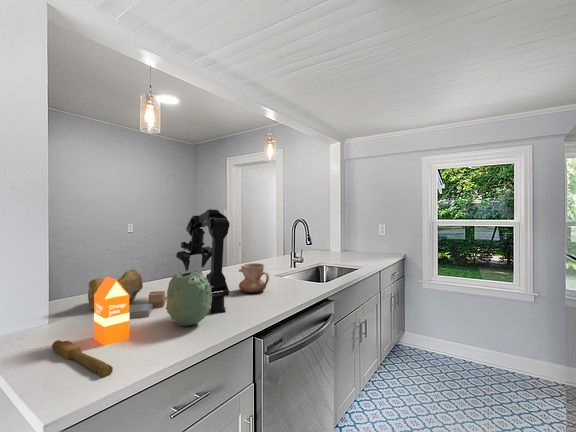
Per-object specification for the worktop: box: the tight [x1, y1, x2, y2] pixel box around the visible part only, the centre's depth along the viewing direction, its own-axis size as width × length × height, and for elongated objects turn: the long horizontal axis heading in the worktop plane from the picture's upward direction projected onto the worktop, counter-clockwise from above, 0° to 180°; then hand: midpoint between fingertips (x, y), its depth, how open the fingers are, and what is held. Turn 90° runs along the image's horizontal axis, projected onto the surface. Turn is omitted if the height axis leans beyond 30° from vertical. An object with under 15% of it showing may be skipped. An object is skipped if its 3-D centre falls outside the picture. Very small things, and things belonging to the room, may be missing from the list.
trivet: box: [129, 303, 154, 319], centre depth 126 cm, size 10×10×2 cm
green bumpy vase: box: [165, 270, 213, 327], centre depth 114 cm, size 16×19×20 cm
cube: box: [148, 290, 166, 309], centre depth 137 cm, size 6×6×6 cm
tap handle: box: [51, 339, 114, 378], centre depth 86 cm, size 3×3×30 cm
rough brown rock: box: [87, 269, 144, 311], centre depth 140 cm, size 23×17×15 cm
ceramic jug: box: [238, 262, 270, 294], centre depth 164 cm, size 18×14×14 cm
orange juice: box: [93, 276, 130, 347], centre depth 101 cm, size 8×9×20 cm
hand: (194, 269), depth 156 cm, fingers open, 9 cm apart
